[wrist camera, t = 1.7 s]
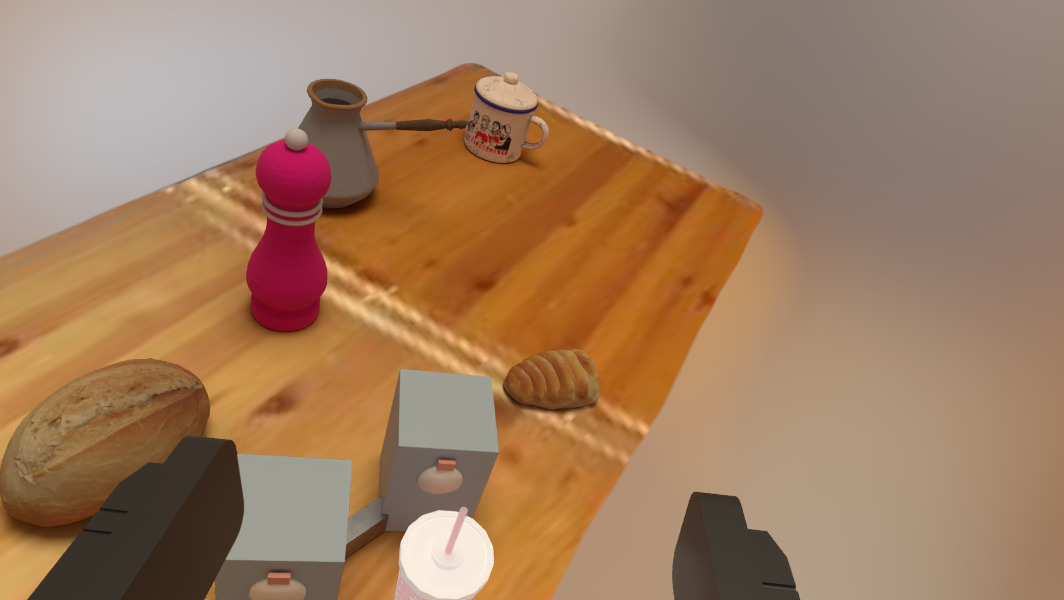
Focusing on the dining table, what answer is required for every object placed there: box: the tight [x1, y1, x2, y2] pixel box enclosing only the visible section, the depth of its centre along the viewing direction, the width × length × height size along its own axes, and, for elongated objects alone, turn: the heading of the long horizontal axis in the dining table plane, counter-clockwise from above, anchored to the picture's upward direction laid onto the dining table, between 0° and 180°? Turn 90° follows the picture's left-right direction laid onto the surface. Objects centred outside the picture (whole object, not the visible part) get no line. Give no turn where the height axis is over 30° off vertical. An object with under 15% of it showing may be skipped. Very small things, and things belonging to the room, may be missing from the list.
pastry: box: [503, 349, 599, 410], centre depth 70 cm, size 9×7×4 cm
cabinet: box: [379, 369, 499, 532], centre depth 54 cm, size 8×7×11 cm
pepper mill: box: [246, 128, 331, 332], centre depth 63 cm, size 7×7×20 cm
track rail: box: [345, 496, 389, 559], centre depth 53 cm, size 13×2×2 cm, turn 138°
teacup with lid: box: [464, 72, 549, 163], centre depth 100 cm, size 12×9×12 cm
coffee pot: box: [298, 79, 473, 208], centre depth 81 cm, size 21×12×15 cm, turn 77°
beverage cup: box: [394, 507, 494, 600], centre depth 46 cm, size 6×6×14 cm
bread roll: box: [0, 358, 210, 527], centre depth 51 cm, size 10×15×8 cm, turn 150°
